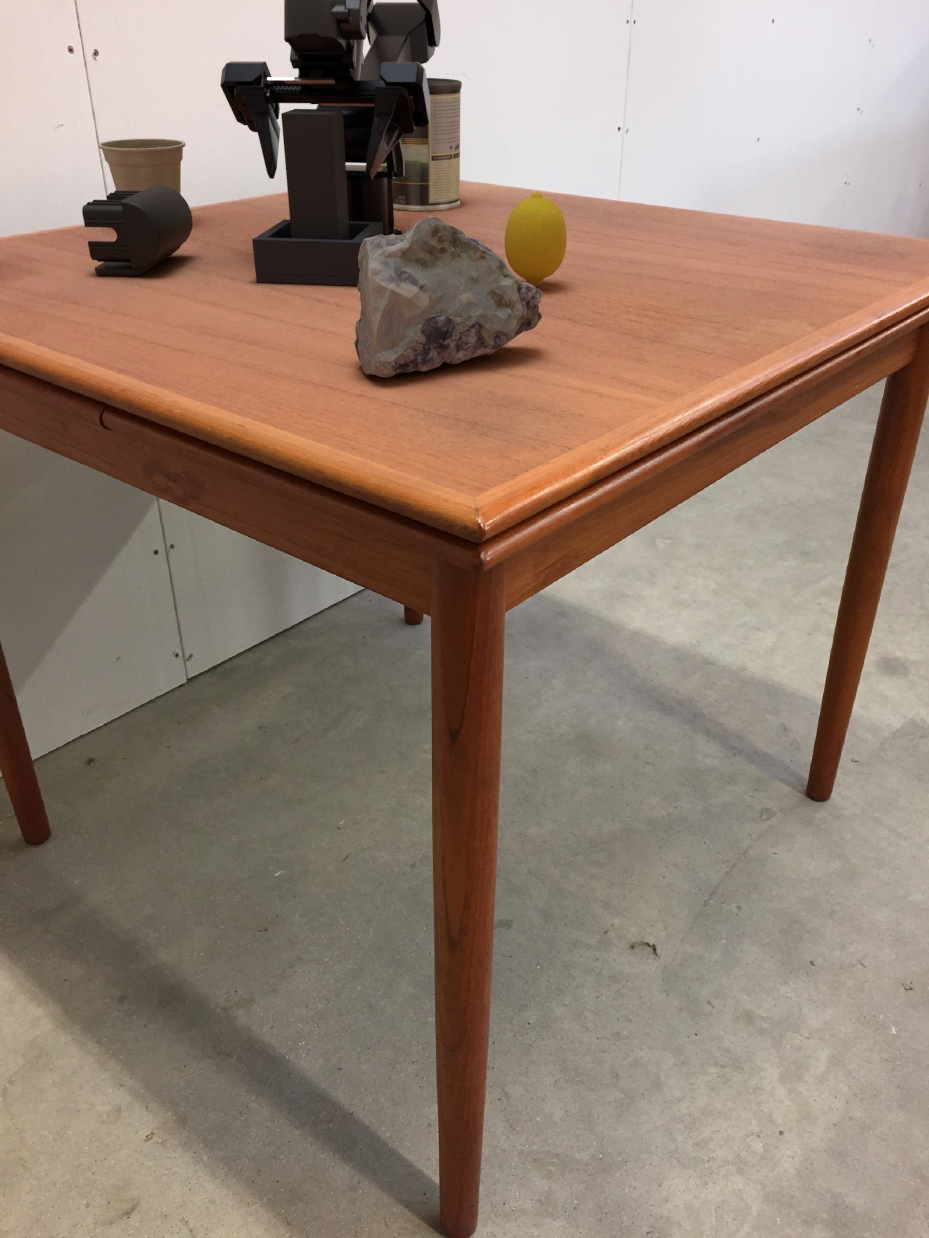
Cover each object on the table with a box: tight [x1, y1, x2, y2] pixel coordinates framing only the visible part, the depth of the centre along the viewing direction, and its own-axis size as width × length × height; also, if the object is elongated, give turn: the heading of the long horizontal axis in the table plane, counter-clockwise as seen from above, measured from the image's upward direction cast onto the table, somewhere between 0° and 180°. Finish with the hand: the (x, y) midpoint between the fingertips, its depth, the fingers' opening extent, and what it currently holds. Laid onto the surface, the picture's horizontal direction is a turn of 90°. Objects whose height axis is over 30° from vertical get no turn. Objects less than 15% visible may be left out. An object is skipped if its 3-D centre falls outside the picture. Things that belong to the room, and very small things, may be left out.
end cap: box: [81, 184, 194, 277], centre depth 97 cm, size 10×7×7 cm
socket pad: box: [251, 218, 383, 287], centre depth 95 cm, size 10×10×4 cm
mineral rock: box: [353, 215, 544, 378], centre depth 69 cm, size 13×11×10 cm
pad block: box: [280, 108, 350, 240], centre depth 93 cm, size 4×4×13 cm
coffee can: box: [381, 77, 463, 212], centre depth 125 cm, size 10×10×14 cm
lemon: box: [504, 191, 568, 287], centre depth 90 cm, size 6×6×8 cm
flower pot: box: [97, 137, 186, 195], centre depth 114 cm, size 9×9×9 cm
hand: (319, 176), depth 92 cm, fingers open, 9 cm apart
